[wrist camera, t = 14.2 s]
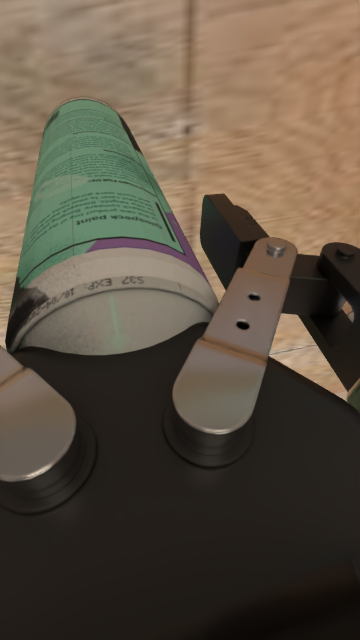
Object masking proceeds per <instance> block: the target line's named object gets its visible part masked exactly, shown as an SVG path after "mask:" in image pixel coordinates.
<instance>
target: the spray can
mask: <svg viewBox="0 0 360 640" xmlns="http://www.w3.org/2000/svg"><path fill="white" fill-rule="evenodd" d="M218 305H219V302H218V300H217V297H216V295H215V293H214V291H213V289H212V287H211V285H210V283H209V282H208V280H207V278H206V276H205V274H204V272H203V270H202V268H201V266H200V264H199V262H198V260H197V258H196V256H195V255H194V253H193V251H192V249H191V247H190V245H189V243H188V241H187V239H186V237H185V235H184V233H183V231H182V229H181V228H180V226H179V224H178V222H177V220H176V218H175V216H174V214H173V212H172V210H171V208H170V206H169V204H168V202H167V201H166V199H165V197H164V195H163V193H162V191H161V189H160V187H159V185H158V183H157V181H156V179H155V177H154V175H153V174H152V172H151V170H150V168H149V166H148V164H147V162H146V160H145V158H144V156H143V154H142V152H141V150H140V148H139V147H138V145H137V143H136V141H135V139H134V137H133V135H132V133H131V131H130V129H129V127H128V126H127V124H126V123H125V121H124V119H123V118H122V117H121V116H120V115H119V114H118V113H117V112H116V111H115V110H114V109H113V108H112V107H110V106H109V105H108V104H106V103H104V102H102V101H100V100H97V99H93V98H89V97H77V98H73V99H69V100H67V101H65V102H63V103H61V104H60V105H59V106H58V107H57V108H55V109H54V110H53V112H52V113H51V115H50V116H49V118H48V120H47V122H46V125H45V127H44V132H43V137H42V143H41V148H40V154H39V159H38V164H37V170H36V175H35V180H34V186H33V191H32V197H31V202H30V207H29V213H28V218H27V223H26V229H25V234H24V240H23V245H22V250H21V256H20V261H19V266H18V272H17V277H16V283H15V288H14V293H13V299H12V304H11V309H10V315H9V320H8V326H7V333H6V339H5V343H6V349H7V352H8V353H9V354H11V355H12V354H13V353H15V352H16V351H18V350H20V349H22V348H24V347H26V346H35V347H43V348H47V349H51V350H55V351H59V352H64V353H73V354H82V355H110V354H120V353H125V352H131V351H136V350H140V349H143V348H147V347H150V346H153V345H155V344H158V343H160V342H163V341H165V340H167V339H169V338H171V337H173V336H175V335H177V334H179V333H181V332H182V331H184V330H186V329H187V328H188V327H190V326H191V325H193V324H196V323H199V322H208V323H210V321H211V319H212V317H213V315H214V313H215V311H216V309H217V307H218Z"/></svg>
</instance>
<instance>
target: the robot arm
mask: <svg viewBox="0 0 360 640" xmlns="http://www.w3.org/2000/svg"><path fill="white" fill-rule="evenodd" d="M200 241H201V245H202V248H203V250H204V252H205V254H206V255H207V257H208V259H209V261H210V263H211V264H212V266H213V268H214V270H215V272H216V274H217V275H218V277H219V279H220V281H221V283H222V284H223V286H224V288H225V290H226V292H225V294H224V296H223V298H222V300H221V301H220V303H219V305H218V307H217V309H216V311H215V313H214V315H213V317H212V319H211V321H210V323H208V322H199V323H196V324H193V325H191V326H190V327H188V328H187V329H186V330H184V331H182V332H181V333H179V334H177V335H175V336H173V337H171V338H169V339H167V340H165V341H163V342H160V343H158V344H155V345H153V346H150V347H147V348H143V349H140V350H136V351H131V352H125V353H120V354H110V355H82V354H73V353H64V352H59V351H55V350H51V349H47V348H43V347H35V346H26V347H24V348H22V349H20V350H18V351H16V352H15V353H13V354H12V355H11V354H9V353H8V352H7V351H6V350H5V349H4V348H3V347H2V346H1V345H0V640H360V249H359V248H357V247H355V246H352V245H349V244H345V243H338V242H334V243H328V244H326V245H325V246H324V247H323V248H322V251H321V253H320V256H314V255H302V254H297V253H298V250H297V248H296V247H295V245H293V244H292V243H291V242H289V241H287V240H284V239H281V238H275V237H269V236H268V234H267V233H266V232H265V231H264V230H263V229H262V228H261V226H260V225H259V224H257V222H256V221H255V219H253V217H252V216H251V215H250V214H249V212H248V211H246V210H245V209H243V208H241V207H239V206H237V205H236V206H234V205H233V204H232V202H231V201H230V200H229V199H228V198H227V196H226V195H225V194H213V195H205V196H204V198H203V204H202V216H201V228H200ZM346 301H347V302H348V303H349V304H350V305H351V307H352V309H353V312H354V320H353V322H352V321H351V320H350V319H349V317H348V316H347V315H346V314H345V312H344V311H343V310H342V308H343V306H344V304H345V302H346ZM281 313H285V314H296V315H298V316H299V318H300V319H301V321H302V322H303V324H304V325H305V327H306V328H307V330H308V332H309V333H310V335H311V336H312V338H313V339H314V341H315V342H316V344H317V345H318V347H319V349H320V350H321V352H322V353H323V355H324V356H325V358H326V359H327V361H328V362H329V364H330V365H331V367H332V369H333V370H334V372H335V373H336V375H337V376H338V378H339V379H340V381H341V382H342V384H343V386H344V387H345V389H346V390H347V392H348V394H347V398H346V399H347V402H346V401H345V400H343V399H342V398H340V397H338V396H337V395H335V394H333V393H332V392H330V391H328V390H326V389H325V388H323V387H321V386H320V385H318V384H316V383H314V382H313V381H311V380H309V379H308V378H306V377H304V376H302V375H301V374H299V373H297V372H295V371H294V370H292V369H290V368H289V367H287V366H285V365H283V364H282V363H280V362H278V361H277V360H275V359H273V358H271V357H270V356H269V352H270V349H271V345H272V342H273V339H274V335H275V332H276V328H277V325H278V321H279V318H280V314H281Z"/></svg>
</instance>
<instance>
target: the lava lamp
mask: <svg viewBox="0 0 360 640" xmlns="http://www.w3.org/2000/svg"><path fill="white" fill-rule="evenodd" d="M348 317H349V319H350V320H351V321H352V322H353V320H354V312H351V313H350V314H349V315H348Z"/></svg>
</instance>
